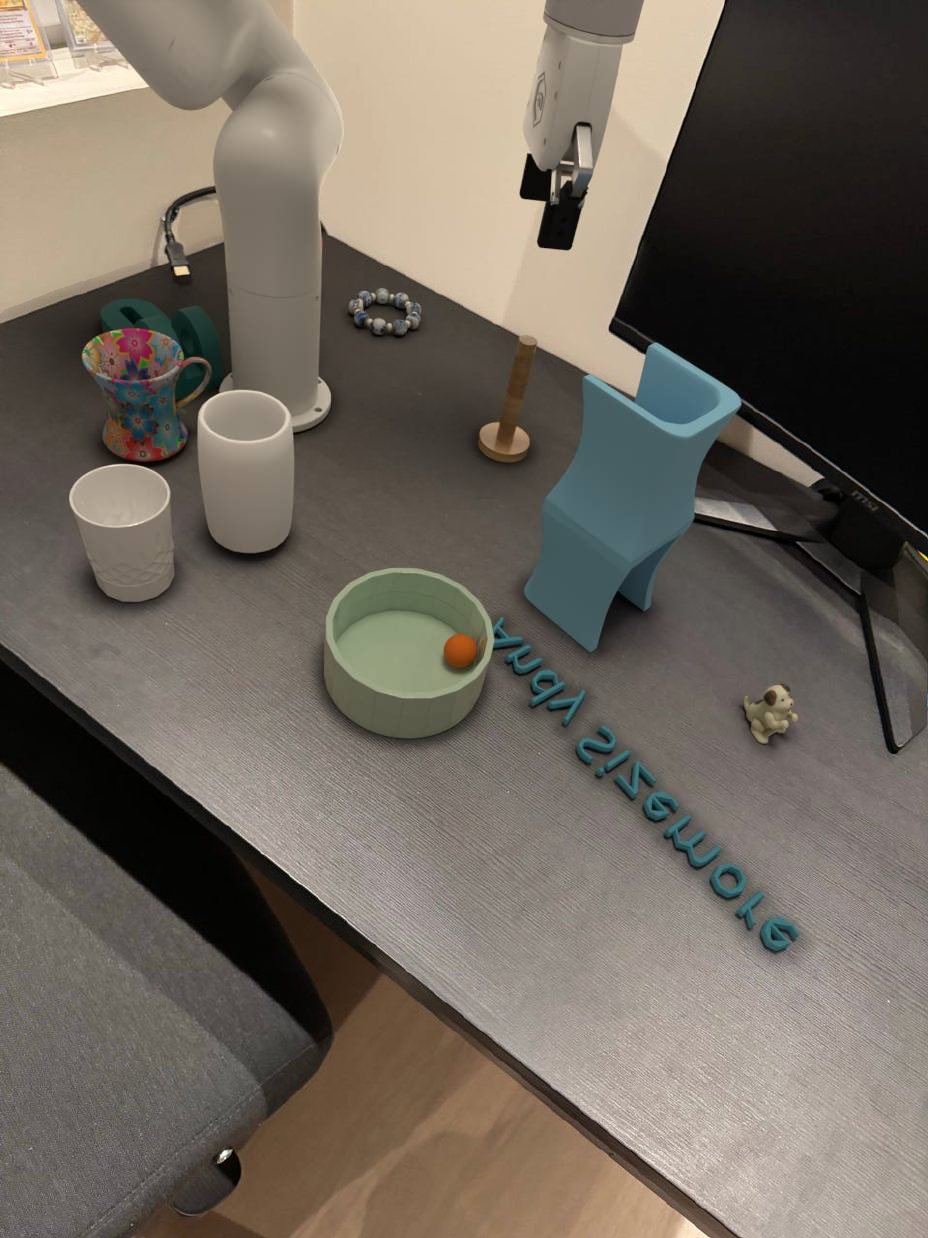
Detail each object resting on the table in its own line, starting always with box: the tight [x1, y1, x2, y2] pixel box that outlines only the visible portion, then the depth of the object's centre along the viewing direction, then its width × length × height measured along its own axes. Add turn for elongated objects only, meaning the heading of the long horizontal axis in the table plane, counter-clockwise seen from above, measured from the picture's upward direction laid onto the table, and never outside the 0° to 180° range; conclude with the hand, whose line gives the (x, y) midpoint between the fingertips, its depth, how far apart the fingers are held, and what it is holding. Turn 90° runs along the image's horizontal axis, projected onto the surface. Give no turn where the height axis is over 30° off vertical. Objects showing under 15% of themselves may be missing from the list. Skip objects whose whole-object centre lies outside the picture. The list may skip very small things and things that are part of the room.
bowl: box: [323, 567, 496, 739], centre depth 73 cm, size 14×14×6 cm
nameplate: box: [492, 616, 800, 952], centre depth 72 cm, size 37×1×5 cm
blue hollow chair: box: [523, 342, 742, 653], centre depth 76 cm, size 10×10×25 cm
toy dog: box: [742, 683, 799, 745], centre depth 76 cm, size 4×5×5 cm
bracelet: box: [347, 287, 422, 336], centre depth 113 cm, size 10×10×2 cm
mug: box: [81, 329, 211, 463], centre depth 86 cm, size 12×9×11 cm
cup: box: [196, 390, 295, 554], centre depth 78 cm, size 8×8×14 cm
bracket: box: [99, 298, 224, 402], centre depth 97 cm, size 18×7×8 cm, turn 42°
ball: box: [444, 634, 477, 668], centre depth 75 cm, size 3×3×3 cm
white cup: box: [68, 463, 175, 603], centre depth 74 cm, size 8×8×10 cm
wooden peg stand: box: [477, 334, 538, 463], centre depth 94 cm, size 6×6×14 cm
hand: (543, 222), depth 79 cm, fingers open, 9 cm apart
